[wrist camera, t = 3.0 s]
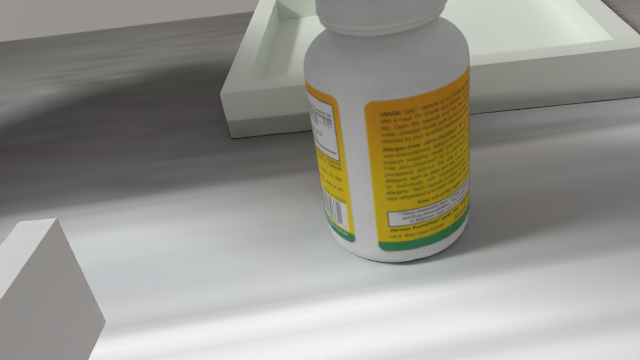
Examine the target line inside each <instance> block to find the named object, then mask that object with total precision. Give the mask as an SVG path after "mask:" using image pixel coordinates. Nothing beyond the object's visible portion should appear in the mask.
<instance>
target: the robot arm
mask: <svg viewBox="0 0 640 360" xmlns="http://www.w3.org/2000/svg"><path fill="white" fill-rule="evenodd" d="M105 322H106V321H105V319H104V317H103V315H102V313H101V310H100V308H99V306H98V304H97V302H96V300H95V298H94V296H93V294H92V291H91V289H90V287H89V285H88V283H87V281H86V279H85V277H84V275H83V272H82V270H81V268H80V266H79V264H78V262H77V260H76V258H75V256H74V253H73V251H72V249H71V247H70V245H69V243H68V241H67V239H66V237H65V234H64V232H63V230H62V228H61V226H60V224H59V222H58V220H57V218H51V219H41V220H30V221H20V222H18V223H17V225H16V226H15V227H14V229H13V230H12V231H11V232H10V234H9V235H8V236H7V238H6V239H5V240H4V241H3V243H2V244H1V245H0V360H88V359H89V357H90V355H91V353H92V350H93V348H94V346H95V344H96V342H97V340H98V337H99V335H100V333H101V331H102V329H103V327H104V324H105Z"/></svg>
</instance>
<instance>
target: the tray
mask: <svg viewBox="0 0 640 360" xmlns="http://www.w3.org/2000/svg"><path fill="white" fill-rule="evenodd" d="M439 16H440V17H442V18H445V19H447V20H448V21H450V22H452V23H453V24H454V25H455V26H456V27H457V28H459V30H460V31H461V32H462V33H463V35H464V37H465V38H466V40H467V43H468V47H469V54H470V114H474V113H484V112H493V111H503V110H513V109H523V108H533V107H542V106H552V105H562V104H572V103H581V102H591V101H601V100H611V99H620V98H630V97H640V35H639V34H638V33H637V32H636V31H635V30H633V29H632V28H631V27H630V26H629V25H628V24H627V23H625V22H624V21H623V20H622V19H621V18H620V17H619V16H618V15H616V14H615V13H614V12H613V11H612V10H611V9H610V8H609V7H607V6H606V5H605V4H604V3H603V2H602V1H601V0H448V1H447V3H446V4H445V8H444V11H443V12H442V13H441V14H440V15H439ZM325 29H326V28H325V27H324V26H322V25H321V23H320V21H319V17H318V16H317V14H316V3H315V0H260V1H259V3H258V5H257V8H256V10H255V12H254V15H253V17H252V19H251V22H250V24H249V26H248V29H247V31H246V34H245V36H244V38H243V41H242V43H241V45H240V48H239V50H238V52H237V55H236V57H235V59H234V62H233V64H232V66H231V69H230V71H229V74H228V76H227V78H226V81H225V83H224V85H223V88H222V90H221V92H220V97H221V101H222V105H223V108H224V112H225V116H226V120H227V124H228V128H229V132H230V136H231V138H240V137H249V136H259V135H269V134H279V133H288V132H298V131H308V130H313V129H312V123H311V117H310V111H309V105H308V98H307V92H306V84H305V77H304V58H305V54H306V52H307V49H308V47H309V46H310V44H311V43H312V41H313V40H314V39H315V38H316V37H317V36H318V35H319V34H320V33H321V32H322V31H324V30H325Z"/></svg>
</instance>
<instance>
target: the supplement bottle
mask: <svg viewBox="0 0 640 360" xmlns="http://www.w3.org/2000/svg"><path fill="white" fill-rule="evenodd" d="M447 1H448V0H315V3H316V14H317V16H318V17H319V21H320V23H321V25H322V26H324V27H325V28H326V29H325V30H324V31H322V32H321V33H320V34H319V35H318V36H317V37H316V38H315V39H314V40H313V41H312V43H311V44H310V46H309V47H308V49H307V52H306V54H305V58H304V77H305V84H306V92H307V98H308V105H309V111H310V117H311V123H312V129H313V135H314V141H315V147H316V153H317V160H318V166H319V173H320V180H321V187H322V192H323V199H324V206H325V212H326V217H327V222H328V226H329V229H330V231H331V233H332V235H333V237H334V238H335V239H336V241H337V242H338V243H339V244H340V245H341V246H343V247H344V248H345V249H346V250H348V251H349V252H351V253H353V254H355V255H357V256H360V257H362V258H365V259H369V260H374V261H381V262H404V261H409V260H414V259H419V258H424V257H428V256H431V255H433V254H436V253H438V252H440V251H442V250H444V249H446V248H447V247H448V246H450V245H451V244H452V243H454V242H455V241H456V240H457V238H458V237H459V236H460V235H461V233H462V232H463V230H464V229H465V226H466V224H467V222H468V217H469V182H470V129H469V127H470V54H469V47H468V43H467V40H466V38H465V37H464V35H463V33H462V32H461V31H460V30H459V28H457V27H456V26H455V25H454V24H453V23H452V22H450V21H448V20H447V19H445V18H442V17H440V16H439V15H440V14H441V13H442V12H443V11H444V8H445V4H446V3H447Z"/></svg>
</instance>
